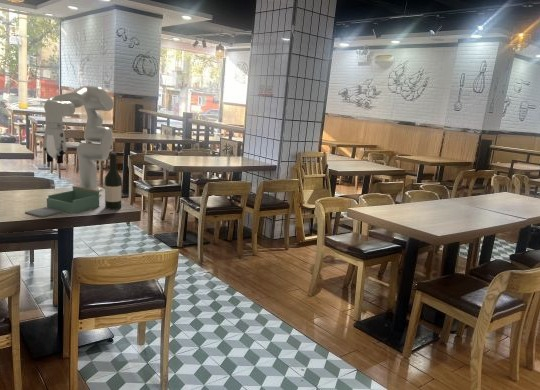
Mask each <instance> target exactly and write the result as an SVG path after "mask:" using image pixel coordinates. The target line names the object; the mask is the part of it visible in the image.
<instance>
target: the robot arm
mask: <svg viewBox="0 0 540 390" xmlns="http://www.w3.org/2000/svg"><path fill="white" fill-rule="evenodd" d="M114 106H115V105H114V99H113V97H112V96H111V95H110V94H109V93H108V92H107V91H106V90H105V89H104V88H102V87H100V86H95V85H93V86H91V85H83V86H79V88H77V89H75V90H74V91H71V92H67V93H62V94H57V95H53V96H52V97H50V98H48V99H47V100H46V101H45V102H44V104H43V109H44V114H45V115H44V117H45V119H44V120H45V130H44V138H43V139H44V141H43V144H42V145H41V147H42V148H43V150H44V151H45V154H46V162H47V163H50V162H54V158H52V157H51V156H50V155H49V154H48V151H47V135H53V137H54V143H55V149H56V150H57V154H58V155H57V158H56V163H57V164H59V165H60V164H63V163H64V155H65V153H66V151H68V147H67V145H66V143H67V142H66V141H67V140H66V134H65V130H64V129H63V127H64V125H63V117H71V116H73V115H74V114H75V112H76V109H78V108H82V107H84V109H85V113H86V117H87V118H86V122H85V123H86V124H85V128H84V131H83V139H84V141H86V142H82V143H79V144H78V145H77V147H76V156H77V160H78V175H79V176H78V178H79V183H78V184H79V186H78V187H82V188H87V189H92V190H98V191H100V192H99V198H100V197H101V194H100V193H101V192H103V191H104V188H102V187H101V188H98V168H97V167H98V166H97V164H96V162H95V161H102V162H103V161H104V162H105V161H106V160H108V158H109V157H110V153H111V147H112V142H113V134H114V133H113V130H112V129H111V128H110V127H107V126H103V122H104V120H103V117H102V115H101V114H100V112H99V111H102V112H103V111H104V112H109V111H110V112H111V111H112V110H113V109H114ZM60 146H62V147H61V149H60ZM59 150H61V151H59Z"/></svg>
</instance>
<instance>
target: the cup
mask: <svg viewBox="0 0 540 390" xmlns="http://www.w3.org/2000/svg"><path fill="white" fill-rule="evenodd" d="M61 147H62V146H60V149H61ZM47 151H48V154H49V155H50V156H51V157H52V158H53V159H57V155H58V154H57V150H56V149H55V143H54V137H53V135H47ZM59 151H61V150H59Z"/></svg>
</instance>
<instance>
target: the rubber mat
mask: <svg viewBox="0 0 540 390" xmlns="http://www.w3.org/2000/svg"><path fill="white" fill-rule="evenodd" d="M63 213H64V211H61V210H56V209H52V208H47V206H44V207H41V208H36V209H31V210H27V211H24V214H26V215H29V216H34V217H38V216H39V218H42V217H43V218H46V216H47V217H50V216H53V215H58V214H63Z"/></svg>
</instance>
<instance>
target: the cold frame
mask: <svg viewBox="0 0 540 390" xmlns="http://www.w3.org/2000/svg"><path fill="white" fill-rule="evenodd" d="M100 193H101V192H100V191H98V190H92V189H87V188H82V187H80V186H77V185H76V186H75V185H72V190H68V191H64V192H58V193H54V194H48V195H47V197H46V207H47V208H52V209H56V210H61V211H63V213H69V214H76V213H80V212H84V211H87V210H93V209H95V208H100V197H99V194H100Z"/></svg>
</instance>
